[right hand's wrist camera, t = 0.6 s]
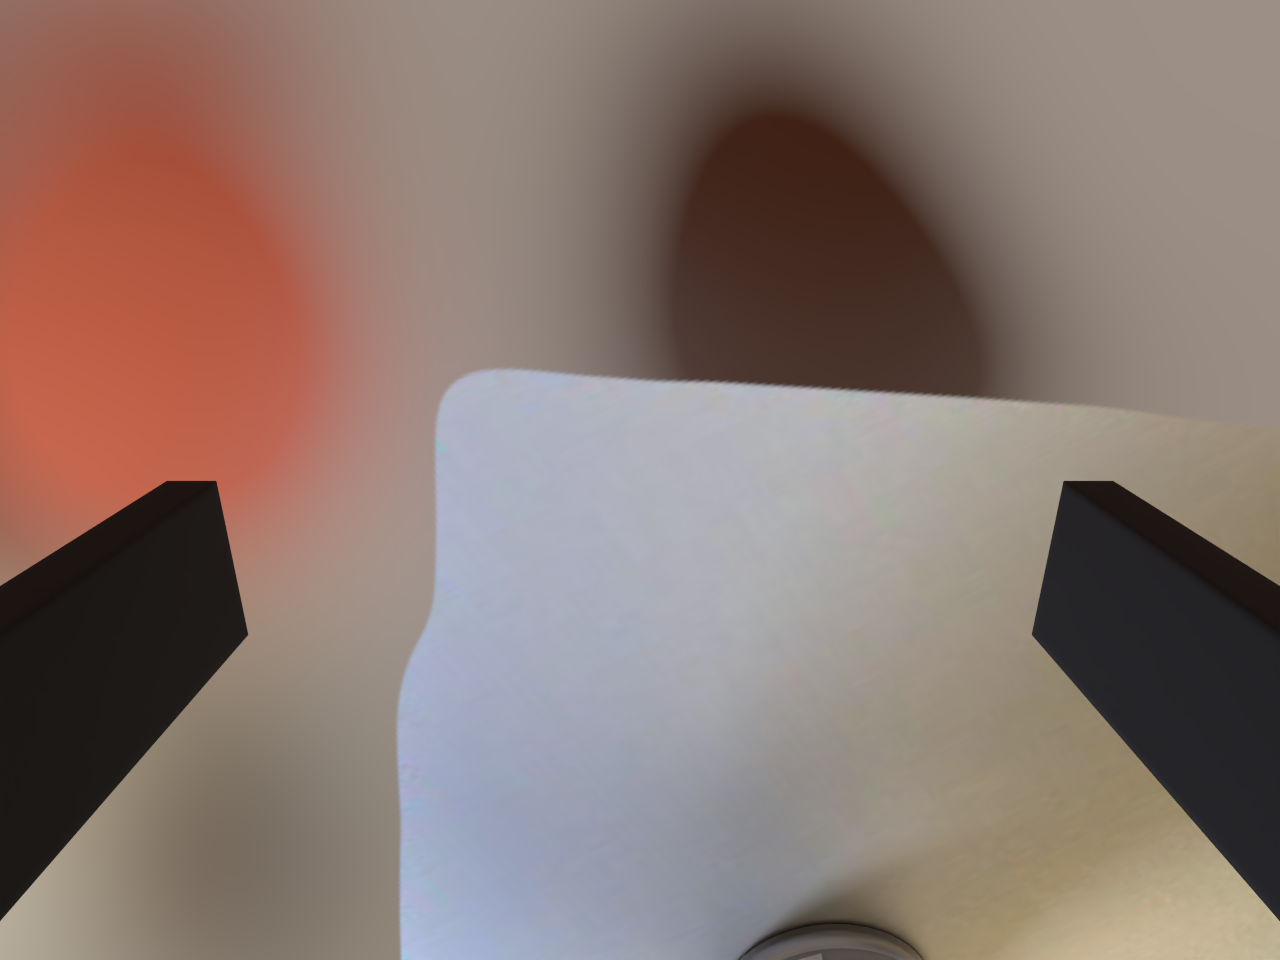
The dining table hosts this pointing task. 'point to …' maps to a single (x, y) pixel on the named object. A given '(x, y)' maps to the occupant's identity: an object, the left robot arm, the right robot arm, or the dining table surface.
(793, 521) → the dining table surface
